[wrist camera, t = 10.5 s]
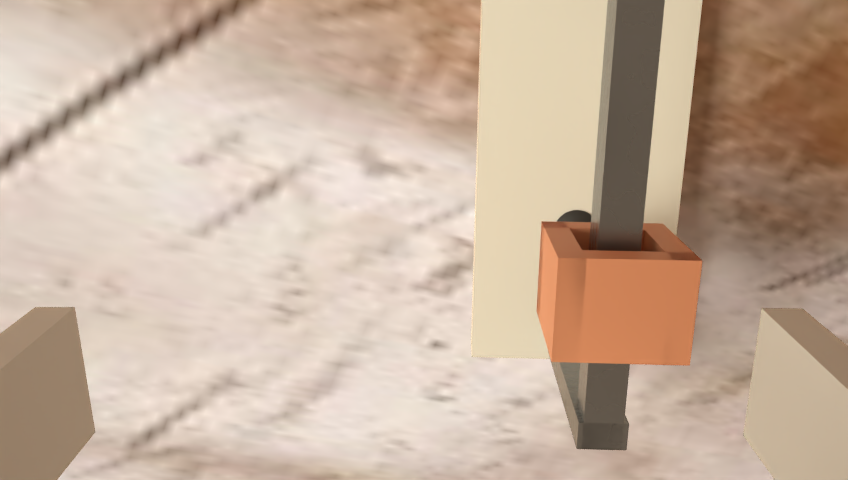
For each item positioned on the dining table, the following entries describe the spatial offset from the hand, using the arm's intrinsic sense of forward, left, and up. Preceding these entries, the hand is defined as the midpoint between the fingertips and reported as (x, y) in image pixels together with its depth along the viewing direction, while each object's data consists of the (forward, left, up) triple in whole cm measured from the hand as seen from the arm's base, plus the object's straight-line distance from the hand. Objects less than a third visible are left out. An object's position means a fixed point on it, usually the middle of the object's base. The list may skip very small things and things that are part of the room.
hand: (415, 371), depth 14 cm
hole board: (-3, +7, -24) cm, 25 cm away
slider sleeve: (+3, +7, -22) cm, 23 cm away
